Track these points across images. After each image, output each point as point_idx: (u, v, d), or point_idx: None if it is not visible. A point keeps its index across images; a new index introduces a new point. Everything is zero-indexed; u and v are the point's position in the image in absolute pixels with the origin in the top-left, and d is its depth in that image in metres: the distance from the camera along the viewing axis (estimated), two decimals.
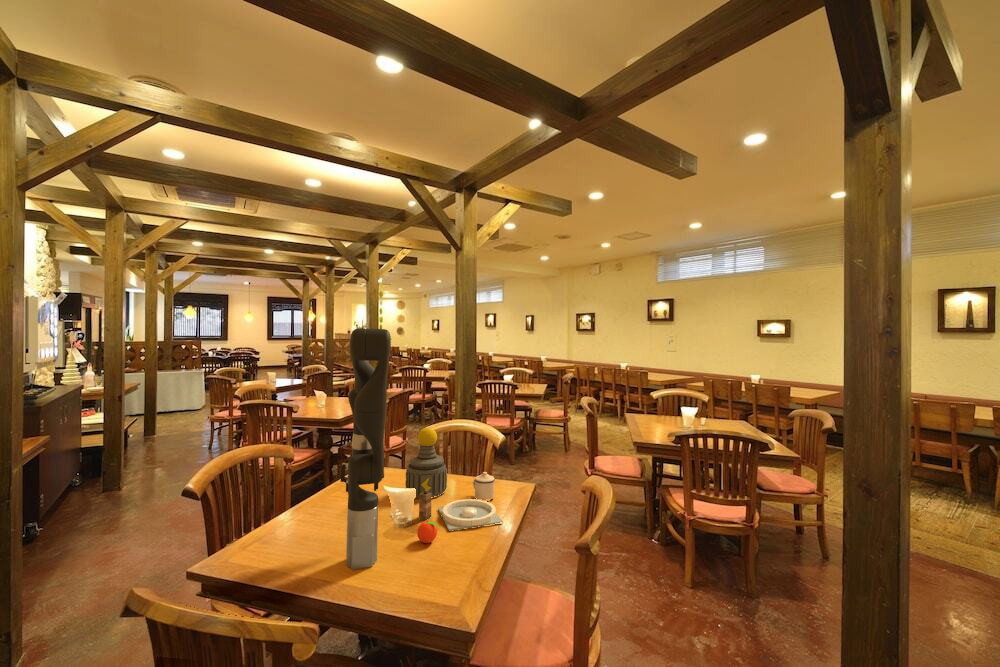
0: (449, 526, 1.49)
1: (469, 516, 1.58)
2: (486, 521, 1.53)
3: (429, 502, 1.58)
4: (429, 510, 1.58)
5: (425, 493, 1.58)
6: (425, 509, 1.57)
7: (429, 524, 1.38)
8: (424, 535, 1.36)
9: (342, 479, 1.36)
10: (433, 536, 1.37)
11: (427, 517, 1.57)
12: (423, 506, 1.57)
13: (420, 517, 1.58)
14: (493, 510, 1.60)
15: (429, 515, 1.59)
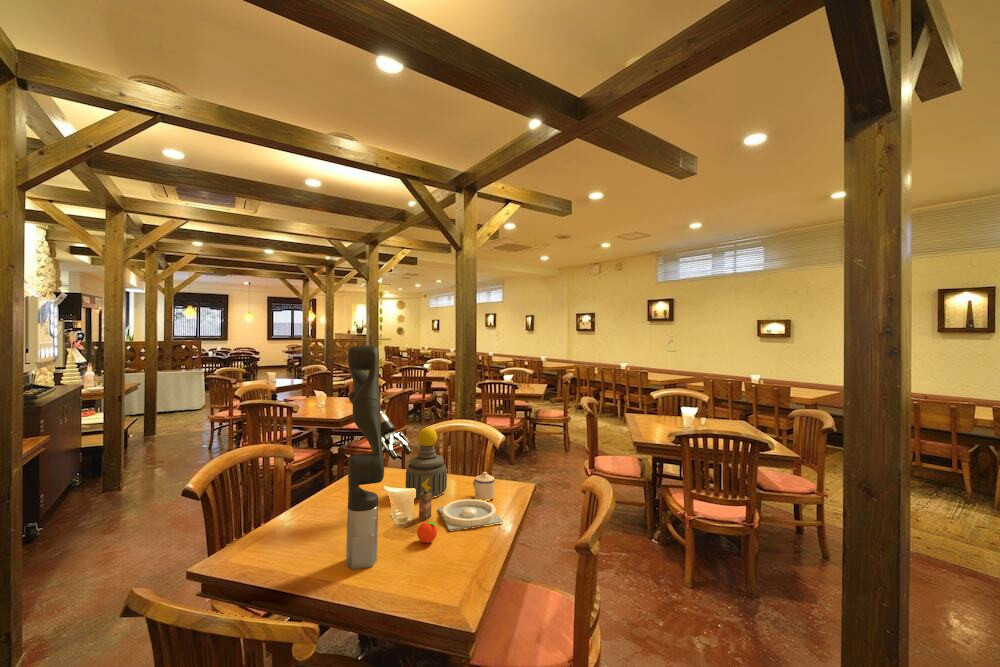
0: (449, 526, 1.49)
1: (469, 516, 1.58)
2: (486, 521, 1.53)
3: (429, 502, 1.58)
4: (429, 510, 1.58)
5: (425, 493, 1.58)
6: (425, 509, 1.57)
7: (429, 524, 1.38)
8: (424, 535, 1.36)
9: (386, 447, 1.60)
10: (433, 536, 1.37)
11: (427, 517, 1.57)
12: (423, 506, 1.57)
13: (420, 517, 1.58)
14: (493, 510, 1.60)
15: (429, 515, 1.59)
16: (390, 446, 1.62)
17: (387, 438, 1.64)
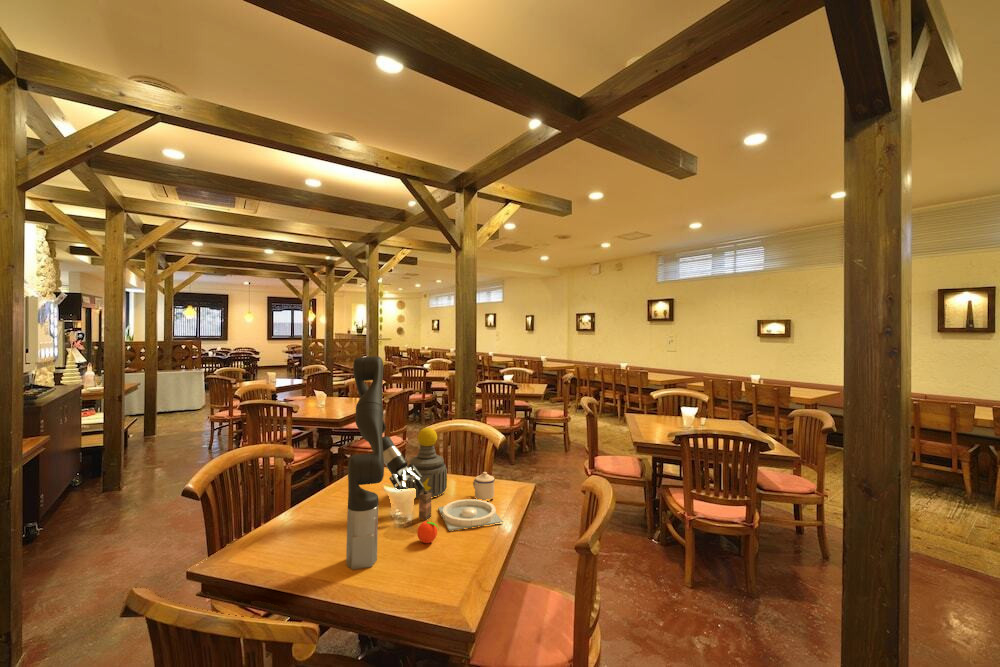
0: (449, 526, 1.49)
1: (469, 516, 1.58)
2: (486, 521, 1.53)
3: (429, 502, 1.58)
4: (429, 510, 1.58)
5: (425, 493, 1.58)
6: (425, 509, 1.57)
7: (429, 524, 1.38)
8: (424, 535, 1.36)
9: (399, 484, 1.57)
10: (433, 536, 1.37)
11: (427, 517, 1.57)
12: (423, 506, 1.57)
13: (420, 517, 1.58)
14: (493, 510, 1.60)
15: (429, 515, 1.59)
16: (403, 483, 1.59)
17: (400, 474, 1.61)
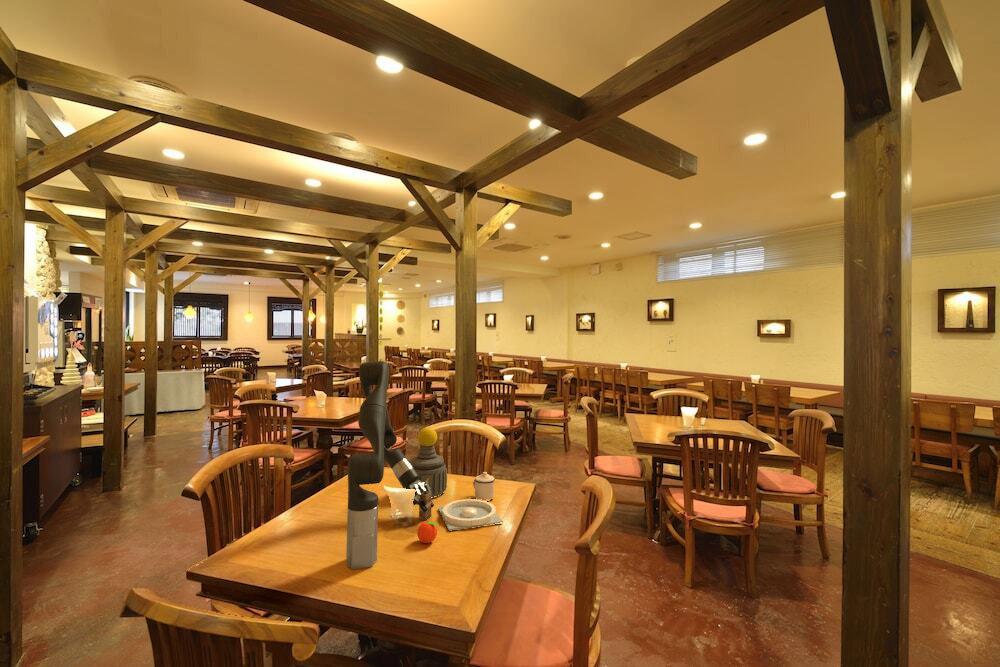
0: (449, 526, 1.49)
1: (469, 516, 1.58)
2: (486, 521, 1.53)
3: (429, 502, 1.58)
4: (429, 510, 1.58)
5: (425, 493, 1.58)
6: None
7: (429, 524, 1.38)
8: (424, 535, 1.36)
9: (417, 499, 1.56)
10: (433, 536, 1.37)
11: (427, 517, 1.57)
12: None
13: (420, 517, 1.58)
14: (493, 510, 1.60)
15: (429, 515, 1.59)
16: (420, 497, 1.58)
17: None
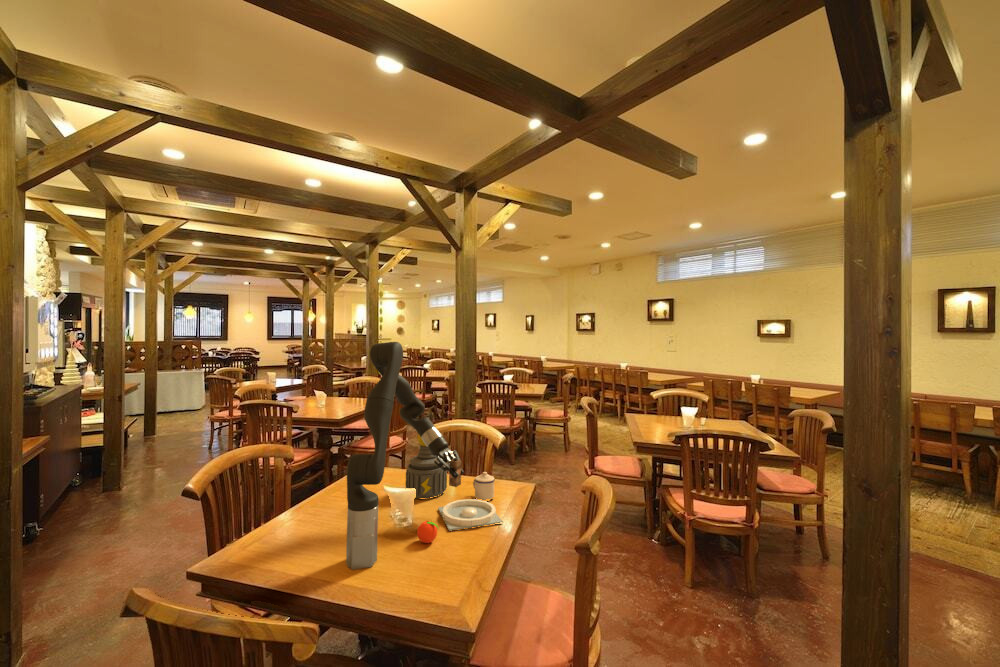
0: (449, 526, 1.49)
1: (469, 516, 1.58)
2: (486, 521, 1.53)
3: (459, 469, 1.59)
4: (459, 476, 1.59)
5: (455, 460, 1.59)
6: None
7: (429, 524, 1.38)
8: (424, 535, 1.36)
9: (447, 465, 1.56)
10: (433, 536, 1.37)
11: (457, 484, 1.58)
12: None
13: (450, 484, 1.58)
14: (493, 510, 1.60)
15: (459, 482, 1.59)
16: (450, 464, 1.58)
17: (443, 456, 1.59)
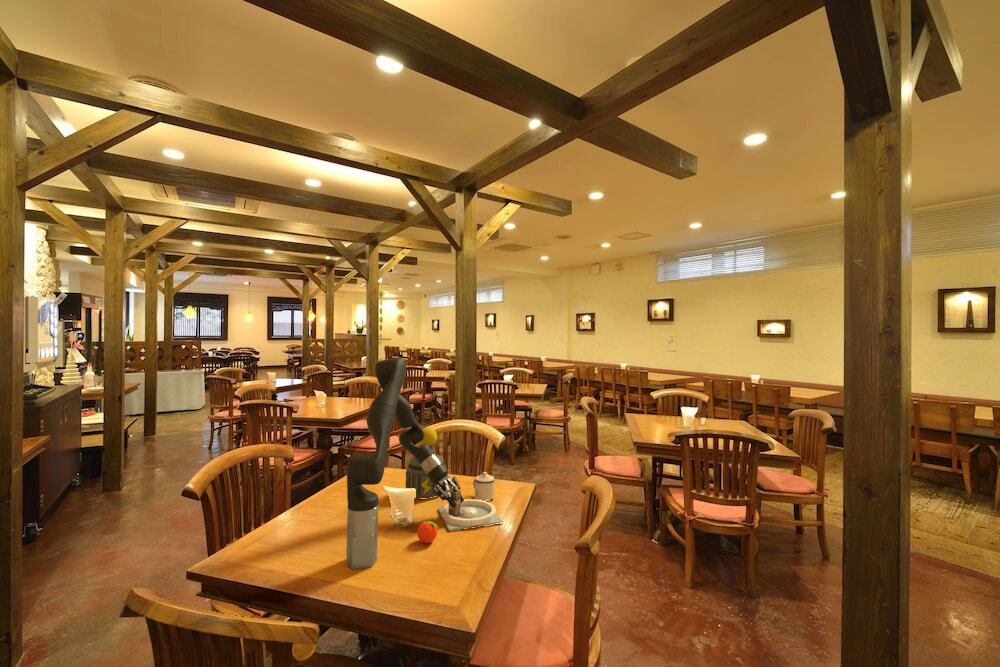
0: (449, 526, 1.49)
1: (469, 516, 1.58)
2: (486, 521, 1.53)
3: (458, 500, 1.58)
4: (458, 507, 1.58)
5: (455, 491, 1.58)
6: (455, 507, 1.57)
7: (429, 524, 1.38)
8: (424, 535, 1.36)
9: (446, 494, 1.55)
10: (433, 536, 1.37)
11: (457, 515, 1.57)
12: None
13: None
14: (493, 510, 1.60)
15: (458, 513, 1.58)
16: (449, 493, 1.57)
17: (442, 485, 1.58)
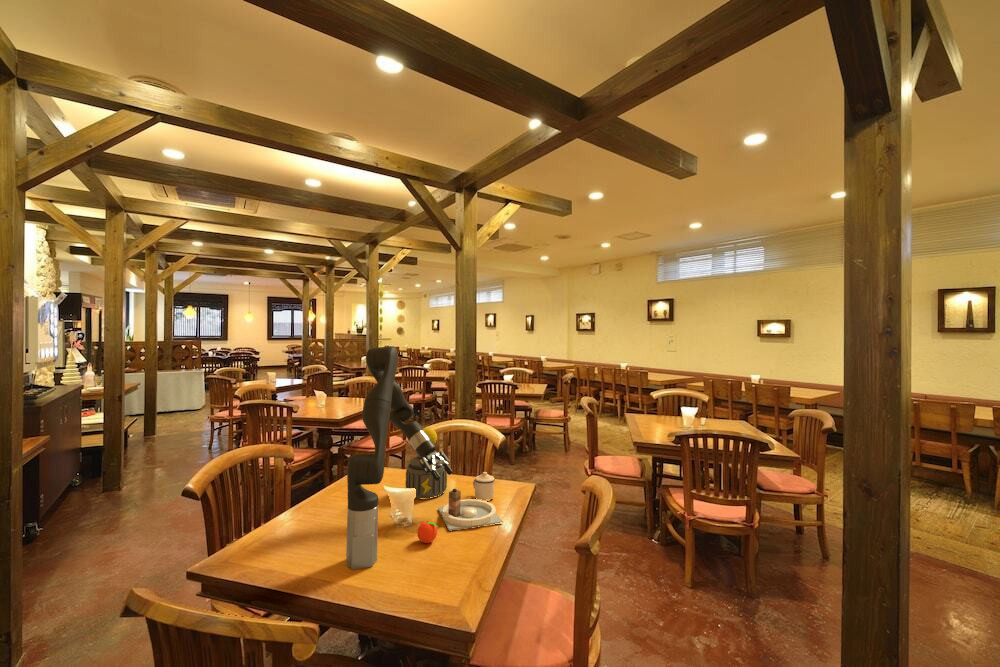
0: (449, 526, 1.49)
1: (469, 516, 1.58)
2: (486, 521, 1.53)
3: (458, 500, 1.58)
4: (458, 508, 1.58)
5: (454, 491, 1.58)
6: (455, 507, 1.57)
7: (429, 524, 1.38)
8: (424, 535, 1.36)
9: (430, 468, 1.57)
10: (433, 536, 1.37)
11: (457, 515, 1.57)
12: (452, 504, 1.57)
13: None
14: (493, 510, 1.60)
15: (458, 513, 1.58)
16: (433, 467, 1.59)
17: (429, 458, 1.61)
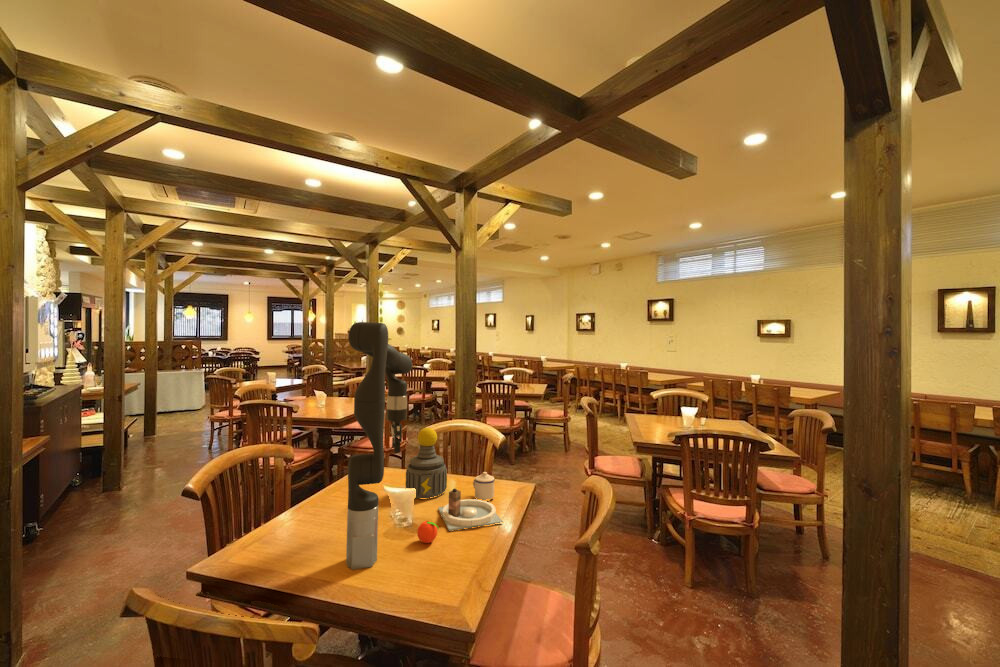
0: (449, 526, 1.49)
1: (469, 516, 1.58)
2: (486, 521, 1.53)
3: (458, 500, 1.58)
4: (458, 508, 1.58)
5: (454, 491, 1.58)
6: (455, 507, 1.57)
7: (429, 524, 1.38)
8: (424, 535, 1.36)
9: None
10: (433, 536, 1.37)
11: (457, 515, 1.57)
12: (452, 504, 1.57)
13: None
14: (493, 510, 1.60)
15: (458, 513, 1.58)
16: None
17: None
